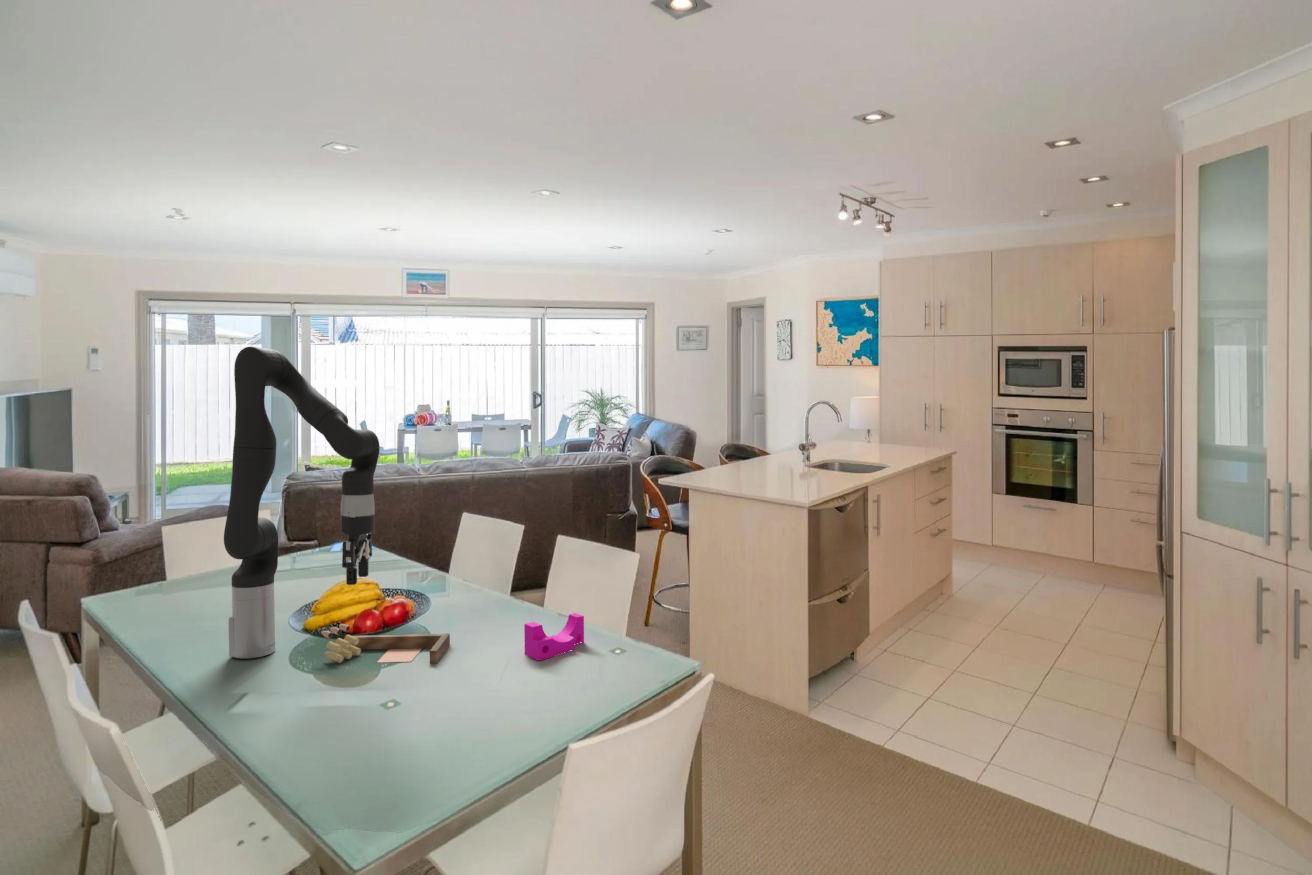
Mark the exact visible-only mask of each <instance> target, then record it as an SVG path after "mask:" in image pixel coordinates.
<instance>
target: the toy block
mask: <svg viewBox="0 0 1312 875" xmlns="http://www.w3.org/2000/svg"><path fill="white" fill-rule="evenodd" d="M567 618H568V619H567V621H566V624H565V625H564V627H563V628H562V630H560V631H559V632H558V633H557V634H554V635H552V636H548V635H547V634H546V632H545V630H544V629H543V627H544V626H543V624H541V623H538V622H535V621H530V622H527V623H524V629H523V630H524V632H523V633H524V655H525V654H526V656H527V655H528V656H527V657H529V656H530V658H532V659H534V660H536V661H543V660H546V659H551V658H553V657H552V656H555V655H558V654H561V653H564V652H568V651H570V650H574V651H575V646H574V644H577V643H580V642H584V643H585V616H584V615H582V614H579V613H577V612H574V613H570V614H568V617H567ZM568 653H569V652H568ZM564 654H565V653H564ZM561 655H562V654H561ZM558 656H559V655H558ZM550 657H551V658H550ZM555 657H556V656H555Z"/></svg>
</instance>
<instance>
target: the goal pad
mask: <svg viewBox="0 0 1312 875" xmlns="http://www.w3.org/2000/svg"><path fill="white" fill-rule="evenodd" d="M422 649H423V648H401V649H387V651H386V652H385V653H384V654H383V655H382V656H381V657H380V658H379V660H377V662H376V664H379V663H381V664H383V663H386V664H387V663H388V664H389V663H412V662H413V661H414V659H416V657H417V656H418V654H419V653H420V652H421V651H422Z"/></svg>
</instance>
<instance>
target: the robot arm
mask: <svg viewBox="0 0 1312 875" xmlns="http://www.w3.org/2000/svg"><path fill="white" fill-rule="evenodd" d="M233 374H234V375H233V376H234V392H235V395H234V396H235V417H234V419H235V420H234V439H233V447H232V449H233V450H232V470H231V471H232V472H231V482H230V496H229V502H228V508H227V509H228V510H227V515H226V520H225V525H224V531H223V545H224V548H225V551H226V552H227V554H228V555H229V556H230V557H231V558H232V559H234V560H235V559H236V560H241V563H240V565H239V567H238V568H237V569H236V570H235V571H234V572H233V574H232V575H231V610H232V611H231V613H232V614H231V616H230V617H229V618H228V656H229V658H236V659H255V658H261V657H264V656H267V655H270V654H273V653H274V652H275V651H276V619H275V618H276V614H275V612H276V611H275V610H276V609H275V606H276V605H275V574H276V572H277V569H278V566H279V565H278V563H279V534H278V529H277V527H276V525H275V524H274V523H273V521H271V520H270V519H268V518H265V517H259V512H260V511H259V510H260V503H261V500H262V497H263V494H264V492H265V490H266V488H267V486H268V484H269V482H270V480H271V478H272V475H273V474H274V470H275V467H276V462H277V461H276V460H277V459H276V457H277V456H276V455H277V437H276V434H275V430H274V428H273V426H272V424H271V421H270V419H269V416H268V414H267V410H266V405H265V397H266V396H265V394H266V393H265V392H266V387H272V388H274V389H276V390H278V391H280V392H282V393H283V394H284V395H286V396H287V397H288V398H289V399H290V400H291V401H292V402H293V404H294V406H295V407H296V409H297V411H298V413H299V415H300V416H301V417H302V418H303V419H304V421H305V422H307V424H309V425H310V426H311V427H312V428H313V429H315V430H316V431H317V432H319V433H320V434H321V435H323V438H325V440H326V441H327V443H328V444H329V446H330V447H331V448H332V450H334V452H335V453H336V454H337V455H339V456H340V457H342V458H344V459H347V460H351V462H350V463H351V464H350V467H349V468H348V469H346V470H345V471H343V473H342V475H341V476H342V477H341V500H340V533H341V534H343V535H348V539H347V541H342V557H341V558H342V560H341V561H342V563H341V566H342V568H344V569H345V570H346V574H345V575H346V583H345V584H346V585H347V586H350V585H351V586H353V585H354V586H355V585H357V583H358V577H359V578H365V577H368V576H369V561H370V560H371V558H372V556H373V538H372V536H373V535H372V533H374V532H375V531H376V530H375V527H376V526H375V521H376V520H375V516H376V515H375V512H376V510H375V503H376V502H375V497H374V480H375V479H374V475H375V473H376V468H377V464H378V460H379V455H380V442H379V438H378V436H377V434H376V433H375V432H373V431H372V430H370V429H354V428H352V427H351V425H349V419H348V417H347V415H346V414H345V413H344V412H343V411H342V410H340V409H339V408H338V407H337V406H336V405H334V403H332V402H331V401H330V400H329V399H327V398H326V397H324V396H323V395H322V394H321V393H320V392H319V391H318V390H317V389H316V388H314V387H313V386H312V384H310V383H309V381H308V380H307V379H306V378H305V377H304V376H303V374H301V373H300V371H299V370H298V369H297V368H296V367H295V366H294V364H293V363H292V362H291V361H290V359H288V357H286V356H285V355H284V354H283V353H282V352H281V351H278V350H277V349H273V348H266V347H258V346H246V347H243V348H242V349H241V350H240V351H239V352H238V354H237V356H236V358H235V362H234V373H233Z"/></svg>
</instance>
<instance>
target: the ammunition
mask: <svg viewBox="0 0 1312 875" xmlns="http://www.w3.org/2000/svg"><path fill="white" fill-rule="evenodd" d="M350 630H351V626H350V625H348V624H347V623H346V624H345V623H340V624H339V625H338V627H336V626H331V627H330V628H329V630H322V631H320V633H321V635H323V636H324V638H327V639H331V638H332V637H333V634H334V635H337V636H340V634H341V633H342V631H343V632H346V633H347V632H349V631H350ZM353 636H354V635H350V634H346V635H345V636H344V637H343V638H344V639H343V638H340V637H338V638H336V639H335V642H333V641H331V640H330V641H328V642H326V648H327V649H329V650H331V651H325V652H324V655H325V656H326V657H327V658H328V659H330V660H332V661H335V662H337V663H339V664H341V663H342V662H343V661H344V659H347V660H350V659H352V658H353V655H355V656H359V655H360V654H361V653H362V649H359V648H357V647H355V646H352V645H351V644H353V645H357V644H358V643H359V639H358V638H356V637H353Z"/></svg>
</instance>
